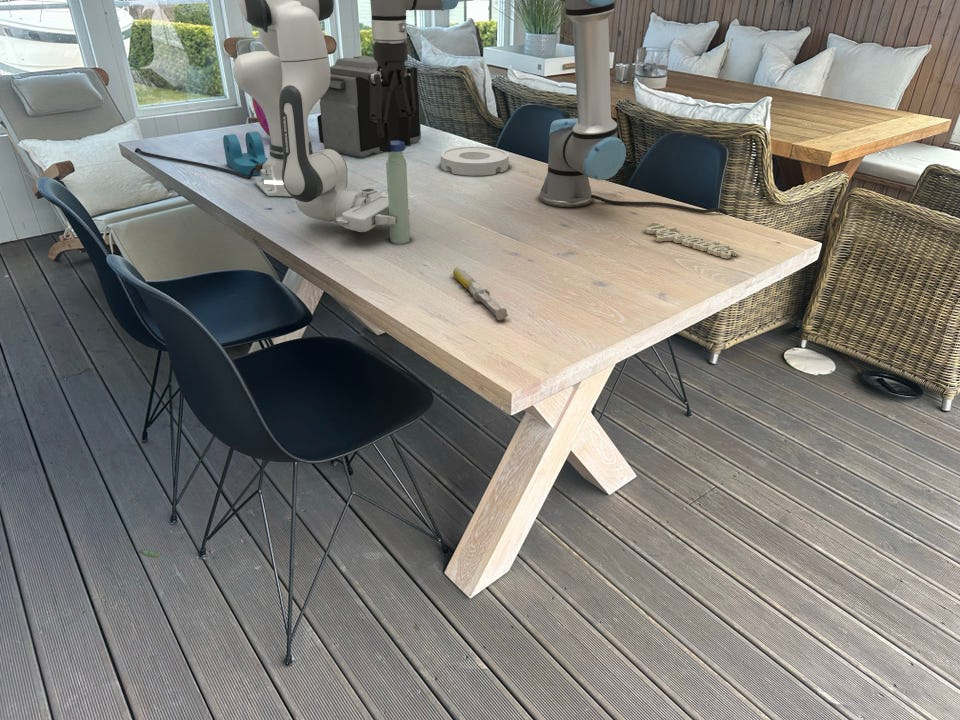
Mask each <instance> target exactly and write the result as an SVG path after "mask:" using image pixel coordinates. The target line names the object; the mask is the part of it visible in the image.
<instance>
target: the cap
mask: <svg viewBox="0 0 960 720" xmlns="http://www.w3.org/2000/svg"><path fill="white" fill-rule="evenodd" d="M390 142H391V152H399V151H403V152H404V151H405V150H406V146H405V142H403V141H390Z"/></svg>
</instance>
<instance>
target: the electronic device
mask: <svg viewBox="0 0 960 720" xmlns="http://www.w3.org/2000/svg"><path fill="white" fill-rule="evenodd" d="M377 66H378V63H377V61H375V60H374V56H367V55H356V56H353V57H350V58H349V57H343V58H342V57H341V58H337V59H336V60H335V63H334V64H333V65H330V72H331V77H330V86H329V88H328V90H327V91H326V93H325V94H324V95H323V96H322V97H321V98H320V99H319V110H320V111H319V112H320V114H319V115H317V116H316V119H317V128H318V138H319V143H320V144H323V146H324V149H333V150H335V151H336V152H338V153H339V154H344V155H348V156H353V157H357V158H362V159H363V158H366V157H367V158H368V157H369V155H371V154H375V155H377V154H381V153H382V152H383V151H380V145H379V137H378V129H377V122H373V121H371V120H370V84H369V79H368V74H369V73H372V74H374V73H375V72H377ZM405 66H406V67H409V68H413V69H414V76H413V82H414V92H415V103H416V112H413V113H414V117H410V126H411V128H410V144H416V143H418V142H419V141H421V137H422V128H421V97H420V92H419V91H420V89H419V68H418V67H417V66H408V65H405ZM410 107H411V105H410ZM399 116H402V115H401V114H400V110H399V106H398V103H397V99H396V95H395V92H394V89H393V92H392V93H391V97H390V104H389V110H388V117H387V123H390V141H399V121H398V117H399Z"/></svg>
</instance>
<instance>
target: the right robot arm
mask: <svg viewBox="0 0 960 720" xmlns="http://www.w3.org/2000/svg"><path fill="white" fill-rule="evenodd" d="M369 1H370V3H369V4H370V14H371V18H370V19H371V20H370V21H371V39H372V40H373V41H374V42H373V43H372V52H373V54H372V55H373V57H374V60H375V61H377V63H378V66H377V72H375V73H374V74H372V73H369V74H368V79H369V84H370V120H371V121H373V122H377V129H378V137H379V145H380V151H382V152H383V153H388V154H389V152H391V142H390V123H387V117H388V110H389V104H390V97H391V93H392V92H393V89H394V92H395V95H396V99H397V103H398V106H399V110H400V114H401V115H402V116H399V117H398V121H399V141H403V142H405V147H411V143H410V128H411V126H410V117H414V113H413V112H416V103H415V92H414V82H413V76H414V69H413V68H409V67H406V66H407V65H406V63H405V62H406V61H408V59H409V50H408V43H407V42H406V40H407V39H408V34H407V11H410V12H411V11H441V12H444V11H449V10H454V9H456V8H457V6H458V4H459V3H461V2H470V1H471V2H472V1H473V0H369ZM560 2H564V5H565V6H564V7H565V16H566V17H567V18H568V19H569V20H570V21H571V23H572V37H573V53H574V74H575V91H576V93H575V94H576V111H577V118H562V119H554V120H553V121H552V122H551V124H550V127H549V128H550V129H549V134H548V136H549V141H548V142H549V143H548V156H547V157H548V159H547V173H546V176H545V178H544V181H543V184H542V186H541V188H540V192H539V200H540V202H542V203H543V204H546V205H549V206H553V207H558V208H559V207H560V208H580V207H584V206H588V205H589V204H591V203H592V199H594V200H596V201H600V202H603V203H605V204H612V205H618V206H619V205H623V206H656V207H657V206H659V207H666V208H673V209H679V210H685V211H688V212H693V213H700V214H709V213H715V212H720V213H721V214H723V215H724V216H729V215H730V214H729V212H728V211H727V210H725V209H724V208H721V207H713V208H707V209H702V208H695V207H691V206H687V205H682V204H674V203H669V202H662V201H661V202H659V201H630V200H629V201H626V200H613V199H607V198H604V197H601V196H598V195H595V194H593V193H592V188H591V184H590V179H594V180H597V181H605V180H608V179H611V178H612V177H614V176H615V175H616V174H618V171H619V170H620V169H621V168H622V167H623V165H624V163H625V160H626V157H627V149H626V145H625V144H624V142H623V141H622V140H621V138H618V123H617V122H616V120H614V119H613V118H612V104H611V103H612V101H611V100H612V99H611V67H610V62H611V61H610V31H609V29H610V28H609V27H610V25H609V18H610V17H611V15H612V13H613V12H614V11H615V0H560ZM410 105H411V107H410Z"/></svg>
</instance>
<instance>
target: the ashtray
mask: <svg viewBox="0 0 960 720" xmlns="http://www.w3.org/2000/svg"><path fill="white" fill-rule="evenodd" d="M509 157H510V154H509V153H508V152H507V151H505V150H503V149H500V148H496V147H489V146H481V145H480V146H479V145H478V146H477V145H472V146H470V145H468V146H467V145H465V146H457V147H451V148H447V149H444V150H443V151H441V152H440V168H441V169H442V170H443V171H444V172H451V174H454V175H460V176H470V177H471V176H472V177H473V176H480V177H481V176H491V175H496V173H503V172H505V171H507V170H508V169H509V162H510V161H509V159H510V158H509Z"/></svg>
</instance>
